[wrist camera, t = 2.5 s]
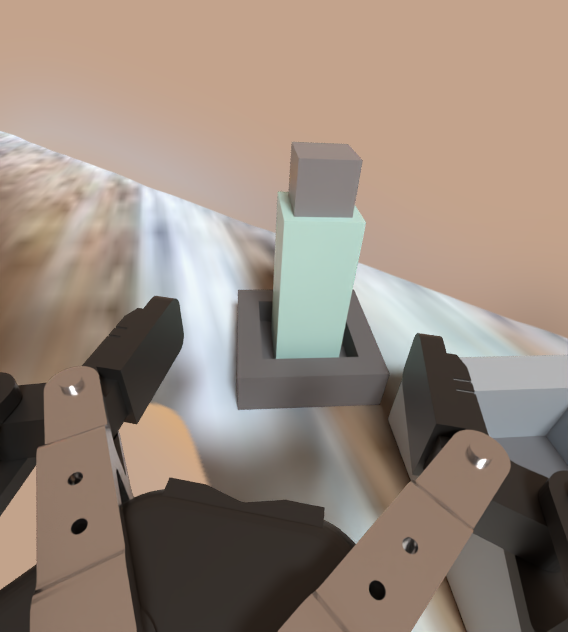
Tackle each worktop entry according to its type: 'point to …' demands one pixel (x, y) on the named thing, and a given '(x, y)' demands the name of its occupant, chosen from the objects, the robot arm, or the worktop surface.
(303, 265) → the plug
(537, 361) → the grey divided tray
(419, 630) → the worktop surface
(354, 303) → the grey square tray
